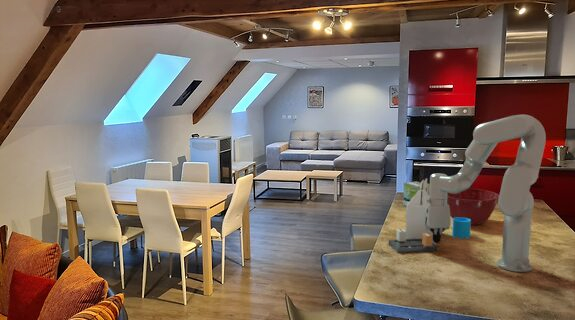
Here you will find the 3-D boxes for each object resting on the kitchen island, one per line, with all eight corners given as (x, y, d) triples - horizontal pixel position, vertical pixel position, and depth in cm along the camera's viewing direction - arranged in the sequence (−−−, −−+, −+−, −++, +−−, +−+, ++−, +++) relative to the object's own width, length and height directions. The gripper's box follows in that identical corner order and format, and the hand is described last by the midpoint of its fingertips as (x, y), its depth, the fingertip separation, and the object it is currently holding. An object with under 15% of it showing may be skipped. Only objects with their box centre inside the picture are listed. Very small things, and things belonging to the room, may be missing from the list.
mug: (468, 239, 218) (468, 222, 217) (450, 236, 223) (450, 220, 222) (473, 233, 228) (474, 216, 227) (456, 230, 233) (456, 214, 232)
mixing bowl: (489, 232, 229) (491, 201, 227) (433, 223, 246) (434, 194, 244) (503, 219, 251) (504, 192, 249) (450, 212, 269) (451, 186, 266)
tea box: (402, 205, 285) (403, 182, 283) (415, 204, 289) (416, 181, 287) (419, 211, 272) (420, 186, 270) (432, 209, 276) (433, 185, 274)
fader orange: (432, 246, 202) (432, 235, 201) (425, 246, 201) (425, 235, 201) (428, 243, 206) (428, 232, 205) (421, 243, 205) (422, 233, 205)
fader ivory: (405, 241, 209) (405, 231, 208) (399, 241, 208) (399, 231, 208) (402, 238, 213) (402, 228, 212) (396, 238, 212) (396, 228, 212)
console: (437, 250, 202) (437, 246, 202) (397, 252, 200) (397, 247, 200) (426, 242, 214) (426, 237, 214) (388, 244, 212) (388, 239, 212)
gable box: (412, 229, 236) (413, 175, 232) (439, 232, 231) (441, 177, 227) (405, 242, 216) (406, 183, 212) (434, 245, 211) (436, 185, 207)
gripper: (425, 204, 197) (423, 245, 200) (458, 203, 199) (456, 244, 201) (418, 200, 204) (417, 240, 207) (450, 199, 206) (448, 239, 209)
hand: (436, 242), depth 204 cm, fingers closed
